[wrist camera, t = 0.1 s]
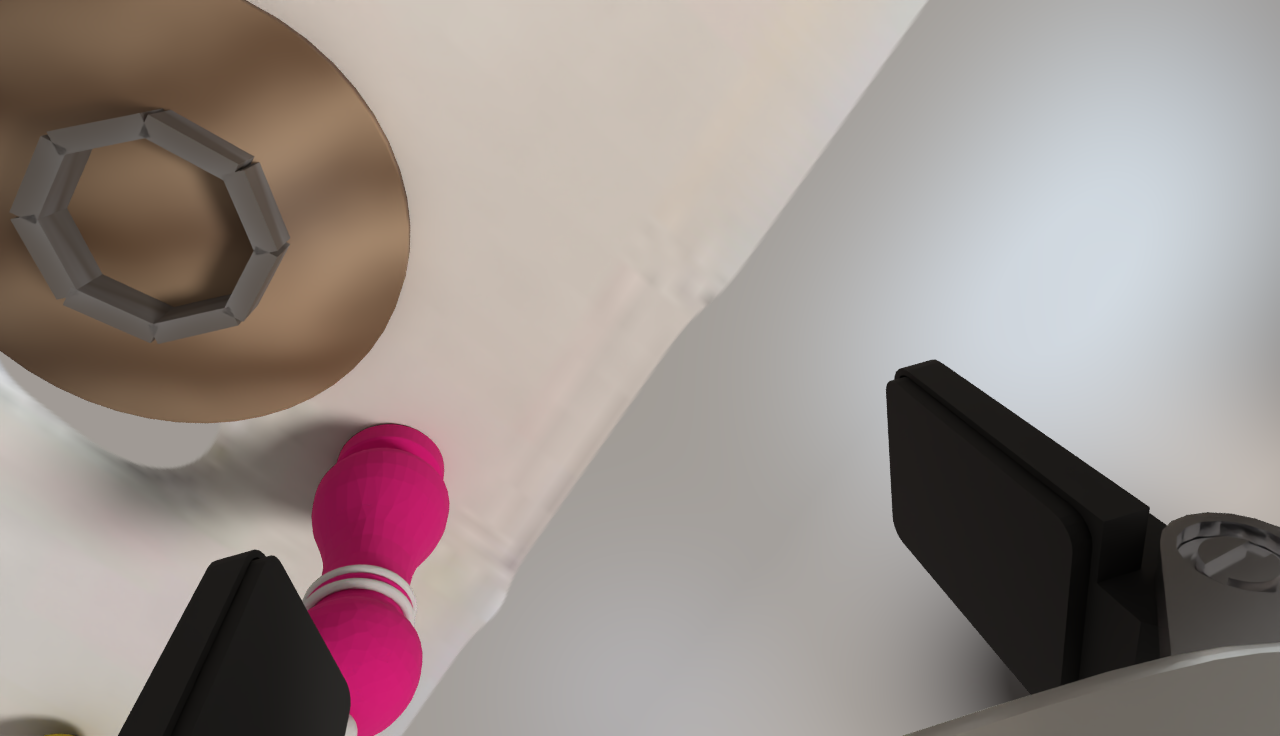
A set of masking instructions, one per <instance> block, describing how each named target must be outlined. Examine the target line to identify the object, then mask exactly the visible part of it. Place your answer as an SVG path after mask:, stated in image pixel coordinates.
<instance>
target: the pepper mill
mask: <svg viewBox="0 0 1280 736" xmlns="http://www.w3.org/2000/svg"><path fill="white" fill-rule="evenodd" d="M443 477H444V463H443V458H442V455H441V453H440V451H439V449H438V448H437V446H436V445H435V443H434V442H433V441H432V440H431V439H429V438H428V437H427V436H426V435H424V434H423V433H421V432H419V431H418V430H416V429H413V428H410V427H407V426H403V425H395V424H384V425H377V426H373V427H370V428H367V429H365V430H363V431H361V432H359V433H357V434H356V435H354V436H353V437H352V438H351V439H350V440H349V441H348V442H347V443H346V444H345V445H344V447H343V448H342V450H341V452H340V455H339V457H338V460H337V463H336V464H335V465H334V466H333V467H332V468H331V469H330V470H329V471H328V472H327V473H326V475H325V476H324V477H323V479H322V480H321V482H320V484H319V486H318V488H317V491H316V494H315V498H314V503H313V508H312V527H313V534H314V539H315V541H316V543H317V546H318V548H319V551H320V554H321V557H322V561H323V572H322V576H321V577H320V578H318V579H317V580H316V581H315V582H314V583H313V584H312V585H311V586H310V587H309V589H308V590H307V592H306V594H305V596H304V598H303V604H304V605H305V607H306V609H307V611H308V613H309V615H310V616H311V618H312V620H313V622H314V624H315V625H316V627H317V629H318V631H319V633H320V635H321V636H322V638H323V640H324V642H325V644H326V645H327V647H328V649H329V651H330V653H331V655H332V656H333V658H334V660H335V662H336V664H337V665H338V667H339V669H340V671H341V673H342V675H343V676H344V678H345V680H346V682H347V684H348V687H349V691H350V697H351V707H350V714H349V718H348V723H347V728H346V733H345V736H374V735H376V734H378V733H380V732H382V731H383V730H384V729H386V728H387V727H388V726H390V725H391V724H392V723H393V722H394V721H395V720H396V719H397V718H398V717H399V716H400V715H401V714H402V712H403V711H404V710H405V709H406V707H407V706H408V704H409V703H410V701H411V700H412V698H413V695H414V693H415V691H416V688H417V686H418V683H419V679H420V675H421V668H422V648H421V642H420V639H419V637H418V634H417V632H416V630H415V629H414V628H415V617H416V613H417V601H416V597H415V594H414V592H413V590H412V588H411V587H410V583H411V579H412V576H413V574H414V572H415V570H416V568H417V567H418V566H419V565H420V564H421V563H422V562H423V561H424V560H425V559H426V558H427V557H428V556H429V555H430V554H431V553H432V551H433V550H434V549H435V547H436V546H437V544H438V542H439V541H440V539H441V537H442V535H443V533H444V530H445V527H446V523H447V518H448V513H449V497H448V491H447V488H446V486H445V483H444V481H443Z"/></svg>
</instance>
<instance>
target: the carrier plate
mask: <svg viewBox="0 0 1280 736" xmlns="http://www.w3.org/2000/svg"><path fill="white" fill-rule="evenodd" d="M409 252H410V219H409V210H408V202H407V196H406V192H405V188H404V184H403V180H402V176H401V172H400V169H399V166H398V164H397V161H396V159H395V156H394V153H393V151H392V148H391V146H390V143H389V141H388V139H387V137H386V136H385V134H384V132H383V130H382V128H381V126H380V125H379V123H378V121H377V119H376V117H375V115H374V114H373V112H372V111H371V110H370V108H369V107H368V105H367V104H366V102H365V101H364V100H363V98H362V97H361V95H360V94H359V92H358V91H357V90H356V88H355V87H354V86H353V85H352V84H351V83H350V81H349V80H348V79H347V78H346V77H345V76H344V75H343V74H342V72H341V71H340V70H339V69H338V68H337V67H336V66H335V64H334V63H333V62H332V61H330V60H329V59H328V58H327V57H326V56H325V55H324V54H323V53H322V52H320V51H319V50H318V49H317V48H316V47H315V46H314V45H313V44H312V43H310V42H309V41H308V40H307V39H306V38H304V37H303V36H302V35H300V34H299V33H297V32H296V31H295V30H293V29H292V28H291V27H289V26H288V25H286V24H285V23H284V22H282V21H281V20H279V19H278V18H276V17H275V16H273V15H271V14H269V13H267V12H266V11H264V10H262V9H260V8H259V7H257V6H255V5H253V4H251V3H250V2H248V1H246V0H0V351H1V352H3V353H4V354H5V355H7V356H8V357H10V358H11V359H12V360H14V361H15V362H17V363H18V364H20V365H21V366H22V367H24V368H25V369H26V370H28V371H30V372H31V373H33V374H35V375H37V376H38V377H40V378H42V379H44V380H45V381H47V382H49V383H51V384H53V385H54V386H56V387H58V388H60V389H62V390H64V391H67V392H69V393H71V394H73V395H75V396H78V397H80V398H82V399H84V400H87V401H90V402H92V403H95V404H98V405H101V406H104V407H107V408H110V409H113V410H116V411H120V412H124V413H128V414H133V415H137V416H141V417H145V418H150V419H158V420H165V421H172V422H186V423H217V422H231V421H239V420H245V419H250V418H256V417H261V416H265V415H268V414H272V413H275V412H278V411H281V410H285V409H288V408H290V407H293V406H295V405H297V404H299V403H302V402H304V401H306V400H308V399H311V398H313V397H314V396H316V395H318V394H319V393H321V392H322V391H324V390H326V389H327V388H329V387H331V386H332V385H334V384H335V383H336V382H338V381H339V380H340V379H341V378H343V377H344V376H345V375H346V374H348V373H349V372H350V371H351V370H352V369H354V368H355V366H356V365H357V364H358V363H359V362H360V361H361V360H362V359H363V358H364V357H365V356H366V355H367V354H368V352H369V351H370V350H371V349H372V347H373V346H374V344H375V343H376V341H377V340H378V339H379V337H380V336H381V334H382V333H383V331H384V330H385V328H386V326H387V323H388V321H389V319H390V317H391V315H392V313H393V311H394V309H395V307H396V304H397V301H398V298H399V295H400V292H401V289H402V285H403V282H404V279H405V276H406V270H407V264H408V258H409Z"/></svg>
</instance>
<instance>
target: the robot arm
mask: <svg viewBox="0 0 1280 736" xmlns="http://www.w3.org/2000/svg"><path fill="white" fill-rule="evenodd" d="M886 399H887V418H888V436H889V456H890V475H891V493H892V512H893V522H894V526H895V528H896V531H897V534H898V535H899V537H900V539H901V540H902V542H903V543H904V544H905V545H906V547H907V548H908V549H909V550H910V551H911V552H912V554H913V555H914V556H915V557H916V559H917V560H918V561H919V562H920V563H921V564H922V566H923V567H924V568H925V569H926V570H927V572H928V573H929V574H930V575H931V576H932V578H933V579H934V580H935V581H936V582H937V584H938V585H939V586H940V587H941V588H942V589H943V591H944V592H945V593H946V594H947V595H948V597H949V598H950V599H951V600H952V601H953V603H954V604H955V605H956V606H957V607H958V609H960V611H961V612H962V613H963V614H964V616H965V617H966V618H967V619H968V620H969V622H970V623H971V624H972V625H973V626H974V628H976V630H977V631H978V632H979V634H980V635H981V636H982V637H983V638H984V639H985V641H986V642H987V643H988V644H989V645H990V647H991V648H992V649H993V650H994V651H995V653H996V654H997V655H998V656H999V657H1000V659H1001V660H1002V661H1003V662H1004V663H1005V664H1006V666H1007V667H1008V668H1009V669H1010V670H1011V671H1012V673H1013V674H1014V675H1015V676H1016V677H1017V679H1018V680H1019V681H1020V682H1021V683H1022V685H1023V686H1024V687H1025V688H1026V689H1027V691H1028V692H1029V693H1030V694H1031V695H1029V696H1027V697H1023V698H1020V699H1017V700H1013V701H1010V702H1007V703H1003V704H1000V705H997V706H993V707H990V708H987V709H984V710H981V711H977V712H974V713H971V714H968V715H965V716H962V717H959V718H956V719H953V720H950V721H947V722H944V723H941V724H937V725H935V726H931V727H928V728H925V729H922V730H919V731H916V732H913V733H910V734H906V735H903V736H1280V527H1278V526H1274V525H1272V524H1269V523H1266V522H1264V521H1261V520H1258V519H1255V518H1250V517H1245V516H1239V515H1235V514H1229V513H1209V512H1207V513H1199V514H1191V515H1186V516H1184V517H1181V518H1178V519H1176V520H1173V521H1171V522H1170V523H1169V524H1168V525H1166V524H1164V523H1163V522H1161V521H1160V520H1158V519H1157V518H1156V517H1154V516H1153V515H1151V514H1150V513H1149V510H1150V508H1149V507H1148V506H1147V505H1145V504H1144V503H1143V502H1141V501H1140V500H1138V499H1137V498H1136V497H1134V496H1133V495H1131V494H1130V493H1128V492H1127V491H1125V490H1124V489H1122V488H1121V487H1120V486H1118V485H1117V484H1115V483H1114V482H1113V481H1111V480H1110V479H1108V478H1107V477H1105V476H1104V475H1102V474H1101V473H1099V472H1098V471H1097V470H1095V469H1094V468H1092V467H1091V466H1089V465H1088V464H1086V463H1085V462H1084V461H1082V460H1081V459H1079V458H1078V457H1077V456H1075V455H1074V454H1072V453H1071V452H1069V451H1068V450H1066V449H1065V448H1064V447H1062V446H1061V445H1059V444H1058V443H1056V442H1055V441H1053V440H1052V439H1051V438H1049V437H1047V436H1046V435H1045V434H1043V433H1042V432H1040V431H1039V430H1038V429H1036V428H1035V427H1033V426H1032V425H1030V424H1029V423H1028V422H1026V421H1025V420H1023V419H1022V418H1020V417H1019V416H1017V415H1016V414H1015V413H1013V412H1012V411H1010V410H1009V409H1007V408H1006V407H1004V406H1003V405H1002V404H1000V403H999V402H997V401H996V400H994V399H993V398H991V397H990V396H989V395H987V394H986V393H984V392H983V391H981V390H980V389H979V388H977V387H976V386H974V385H973V384H971V383H970V382H968V381H967V380H966V379H964V378H963V377H961V376H960V375H958V374H957V373H956V372H953V370H951V369H950V368H948V367H947V366H945V365H944V364H942V363H941V362H939V361H937V360H929V361H926V362H922V363H919V364H915V365H912V366H908V367H904V368H901V369H899V370H898V371H897V372H896V374H895V379H894V380H892V381H889V382H888V384H887V387H886ZM350 707H351V697H350V691H349V687H348V684H347V682H346V680H345V678H344V676H343V675H342V673H341V671H340V669H339V667H338V665H337V664H336V662H335V660H334V658H333V656H332V655H331V653H330V651H329V649H328V647H327V645H326V644H325V642H324V640H323V638H322V636H321V635H320V633H319V631H318V629H317V627H316V625H315V624H314V622H313V620H312V618H311V616H310V615H309V613H308V611H307V609H306V607H305V605H304V604H303V602H302V600H301V598H300V596H299V595H298V593H297V591H296V589H295V587H294V586H293V584H292V582H291V580H290V578H289V576H288V575H287V573H286V571H285V569H284V567H283V566H282V564H281V562H280V561H279V559H278V558H277V557H275V556H272V555H271V556H268V557H266V556H265V555H264V554H263V553H262V552H261V551H259V550H252V551H248V552H245V553H241V554H237V555H234V556H230V557H227V558H223V559H220V560H216V561H214V562H212V563H211V564H210V565H209V567H208V568H207V570H206V572H205V574H204V576H203V578H202V579H201V581H200V583H199V585H198V587H197V589H196V591H195V593H194V594H193V596H192V598H191V600H190V602H189V604H188V606H187V607H186V609H185V611H184V613H183V615H182V617H181V619H180V621H179V622H178V624H177V626H176V628H175V630H174V632H173V634H172V636H171V637H170V639H169V641H168V643H167V645H166V647H165V649H164V650H163V652H162V654H161V656H160V658H159V660H158V662H157V664H156V665H155V667H154V669H153V671H152V673H151V675H150V677H149V679H148V680H147V682H146V684H145V686H144V688H143V690H142V692H141V693H140V695H139V697H138V699H137V701H136V703H135V705H134V707H133V708H132V710H131V712H130V714H129V716H128V718H127V720H126V722H125V723H124V725H123V727H122V729H121V731H120V733H119V735H118V736H345V733H346V728H347V723H348V718H349V714H350Z"/></svg>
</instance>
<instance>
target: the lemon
mask: <svg viewBox="0 0 1280 736" xmlns="http://www.w3.org/2000/svg"><path fill="white" fill-rule="evenodd" d="M45 736H74V735H68V734H51V735H45Z"/></svg>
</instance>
